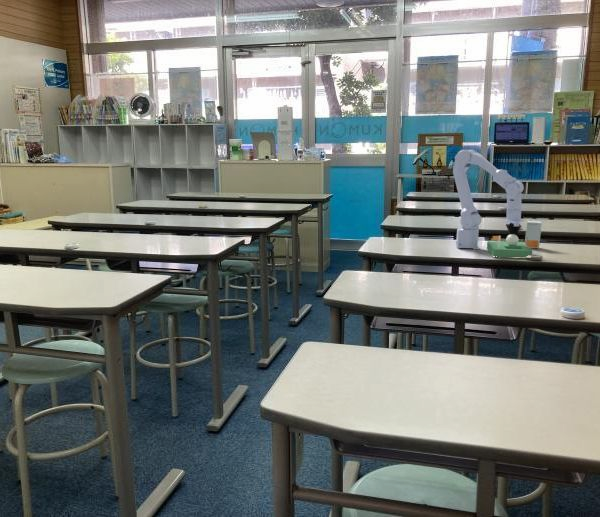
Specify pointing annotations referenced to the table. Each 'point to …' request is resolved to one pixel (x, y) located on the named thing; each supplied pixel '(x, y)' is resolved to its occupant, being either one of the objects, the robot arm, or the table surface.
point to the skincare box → (533, 234)
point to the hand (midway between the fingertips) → (512, 240)
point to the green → (507, 248)
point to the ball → (512, 239)
